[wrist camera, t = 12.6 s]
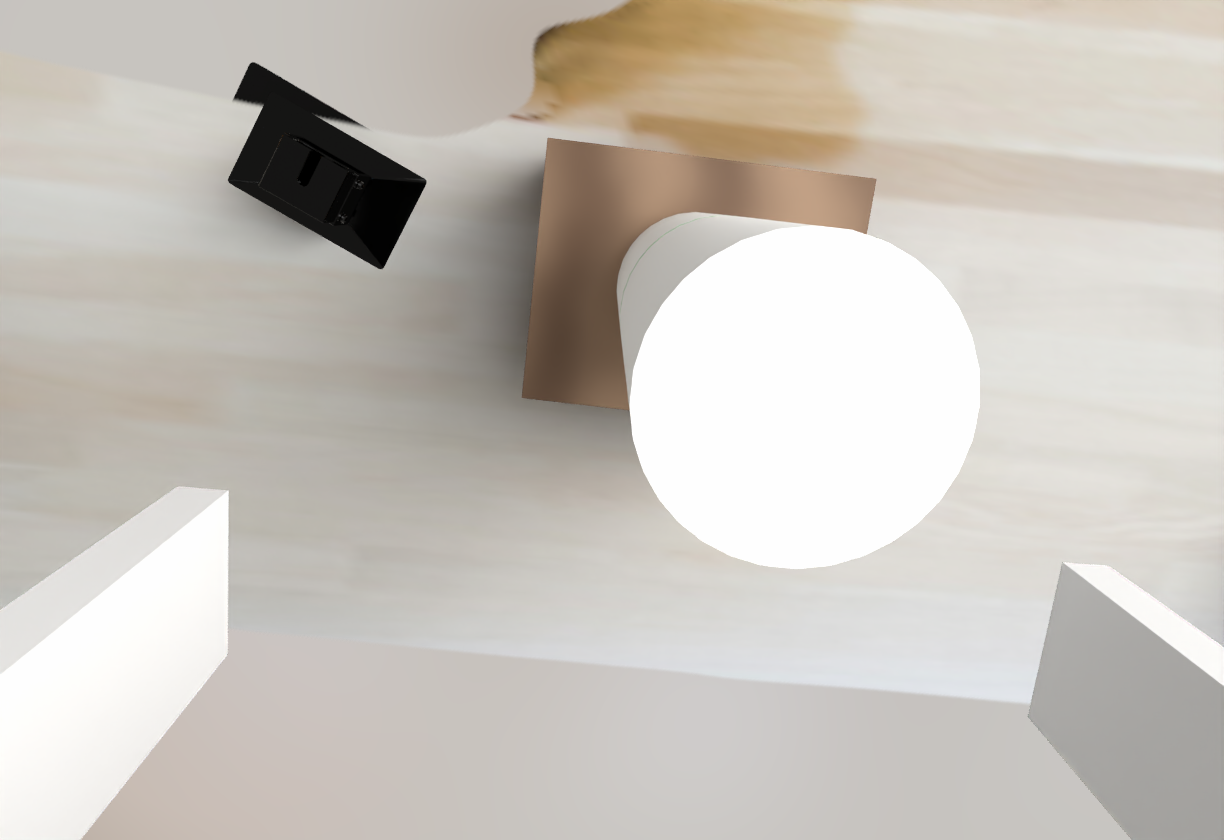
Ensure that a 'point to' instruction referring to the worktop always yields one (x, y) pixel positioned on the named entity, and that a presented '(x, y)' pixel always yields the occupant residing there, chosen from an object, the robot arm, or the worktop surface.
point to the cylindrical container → (792, 385)
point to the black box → (321, 170)
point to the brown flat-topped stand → (614, 218)
